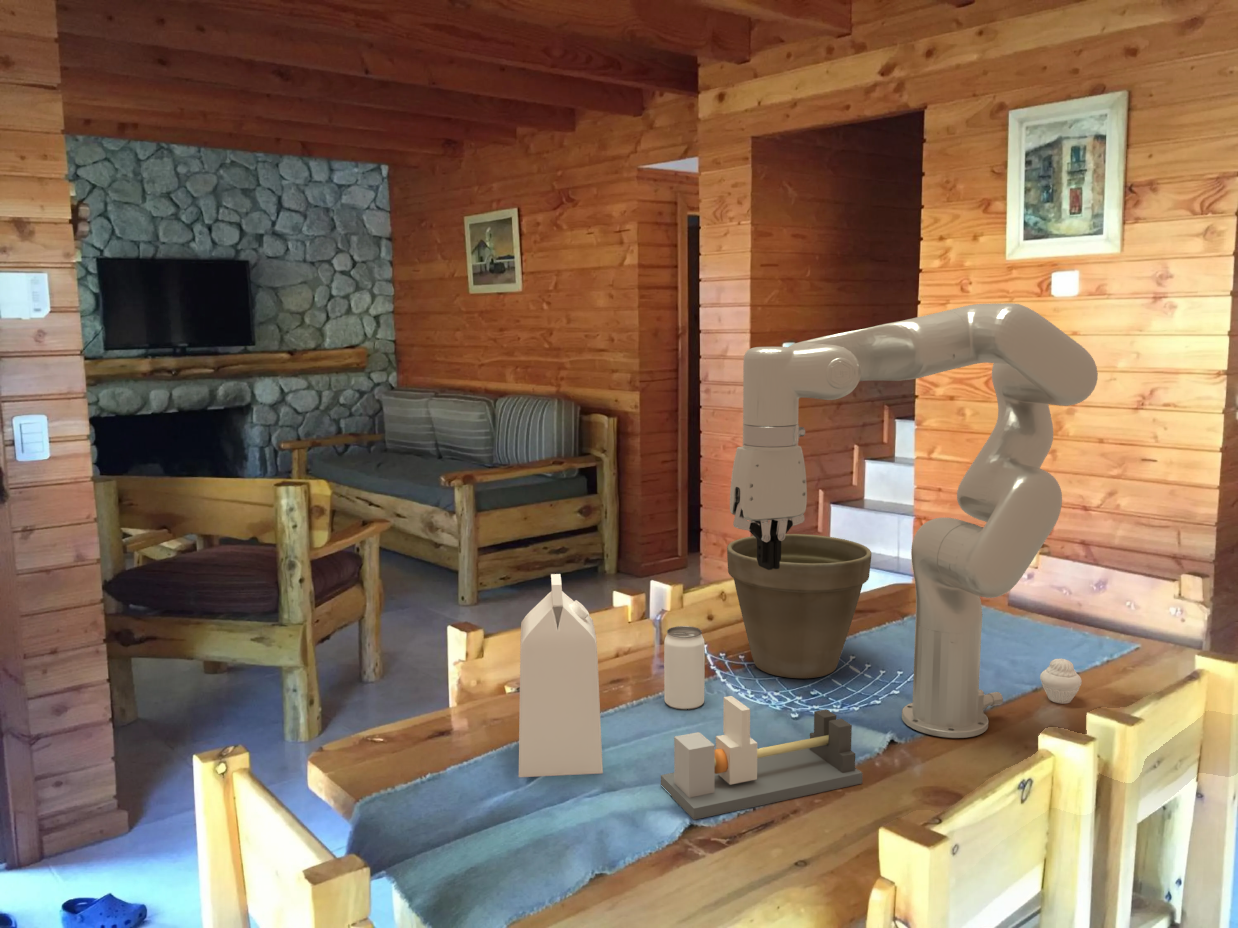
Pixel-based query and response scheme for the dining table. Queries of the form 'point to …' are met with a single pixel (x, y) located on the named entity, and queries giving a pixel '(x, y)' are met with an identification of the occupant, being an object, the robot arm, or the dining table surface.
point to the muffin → (1060, 681)
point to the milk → (559, 689)
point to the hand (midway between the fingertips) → (768, 567)
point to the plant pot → (799, 601)
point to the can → (684, 667)
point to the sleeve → (737, 743)
